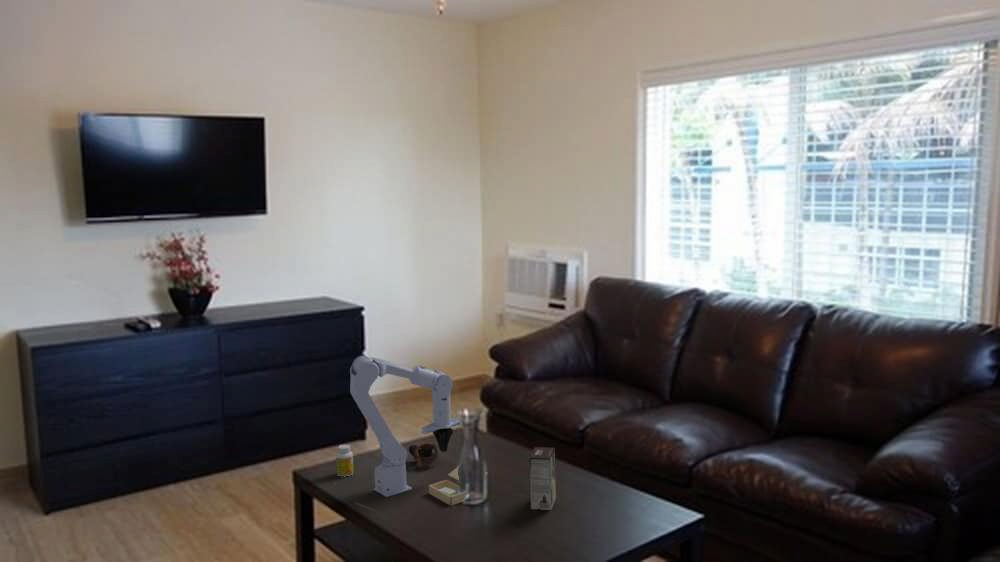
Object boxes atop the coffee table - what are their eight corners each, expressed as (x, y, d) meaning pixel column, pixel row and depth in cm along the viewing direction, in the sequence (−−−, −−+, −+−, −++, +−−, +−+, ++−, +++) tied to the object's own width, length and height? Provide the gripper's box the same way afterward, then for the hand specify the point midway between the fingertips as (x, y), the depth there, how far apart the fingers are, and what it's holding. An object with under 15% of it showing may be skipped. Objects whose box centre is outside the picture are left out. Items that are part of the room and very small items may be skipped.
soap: (450, 500, 239) (449, 494, 239) (438, 496, 242) (438, 489, 242) (457, 497, 241) (456, 490, 241) (445, 493, 244) (445, 486, 244)
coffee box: (535, 496, 241) (534, 446, 239) (556, 498, 240) (555, 447, 237) (530, 509, 232) (529, 457, 230) (552, 510, 231) (551, 458, 229)
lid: (487, 472, 242) (488, 473, 243) (464, 461, 252) (464, 462, 252) (471, 486, 239) (471, 487, 239) (448, 474, 249) (448, 475, 249)
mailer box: (450, 506, 235) (450, 497, 235) (428, 494, 245) (428, 485, 244) (469, 500, 239) (469, 491, 239) (447, 488, 249) (447, 479, 248)
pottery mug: (444, 460, 275) (444, 445, 270) (431, 480, 268) (430, 465, 263) (414, 448, 279) (413, 433, 273) (401, 468, 272) (399, 452, 267)
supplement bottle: (335, 477, 260) (334, 449, 259) (339, 471, 265) (337, 443, 264) (351, 477, 260) (350, 449, 259) (355, 471, 265) (353, 443, 264)
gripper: (429, 417, 245) (431, 459, 247) (467, 408, 254) (468, 448, 256) (417, 412, 251) (419, 453, 252) (455, 403, 259) (456, 443, 261)
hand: (443, 450), depth 254 cm, fingers closed
